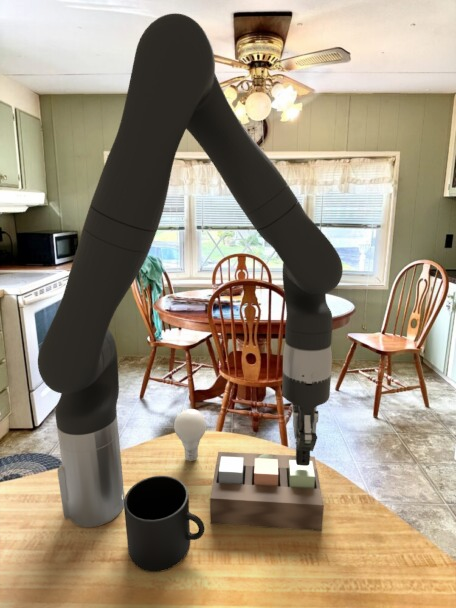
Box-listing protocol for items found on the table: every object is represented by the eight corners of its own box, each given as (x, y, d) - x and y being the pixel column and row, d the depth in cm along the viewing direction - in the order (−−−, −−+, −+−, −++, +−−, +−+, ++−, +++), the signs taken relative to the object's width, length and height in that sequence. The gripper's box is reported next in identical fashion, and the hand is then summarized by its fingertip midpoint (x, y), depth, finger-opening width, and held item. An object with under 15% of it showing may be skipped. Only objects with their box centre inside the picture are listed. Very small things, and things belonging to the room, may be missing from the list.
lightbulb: (206, 469, 79) (204, 420, 76) (173, 469, 79) (171, 420, 76) (208, 449, 85) (206, 402, 82) (178, 449, 85) (175, 402, 82)
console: (210, 523, 66) (209, 496, 65) (218, 474, 78) (218, 450, 76) (321, 530, 65) (323, 503, 63) (313, 479, 76) (314, 455, 75)
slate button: (219, 493, 69) (218, 471, 68) (221, 477, 73) (221, 456, 72) (242, 494, 69) (242, 472, 68) (243, 478, 73) (243, 457, 71)
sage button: (289, 497, 68) (290, 475, 67) (288, 481, 72) (289, 459, 71) (313, 499, 68) (314, 476, 67) (310, 482, 72) (312, 461, 70)
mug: (195, 583, 56) (193, 530, 54) (116, 566, 59) (111, 515, 56) (213, 529, 65) (212, 482, 62) (144, 516, 68) (140, 471, 65)
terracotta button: (254, 495, 69) (254, 473, 67) (254, 479, 72) (254, 458, 71) (277, 497, 68) (278, 474, 67) (276, 480, 72) (277, 459, 71)
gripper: (281, 352, 70) (278, 438, 75) (284, 388, 58) (281, 489, 62) (324, 353, 70) (319, 440, 74) (338, 389, 57) (330, 492, 62)
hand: (302, 462), depth 68 cm, fingers closed
